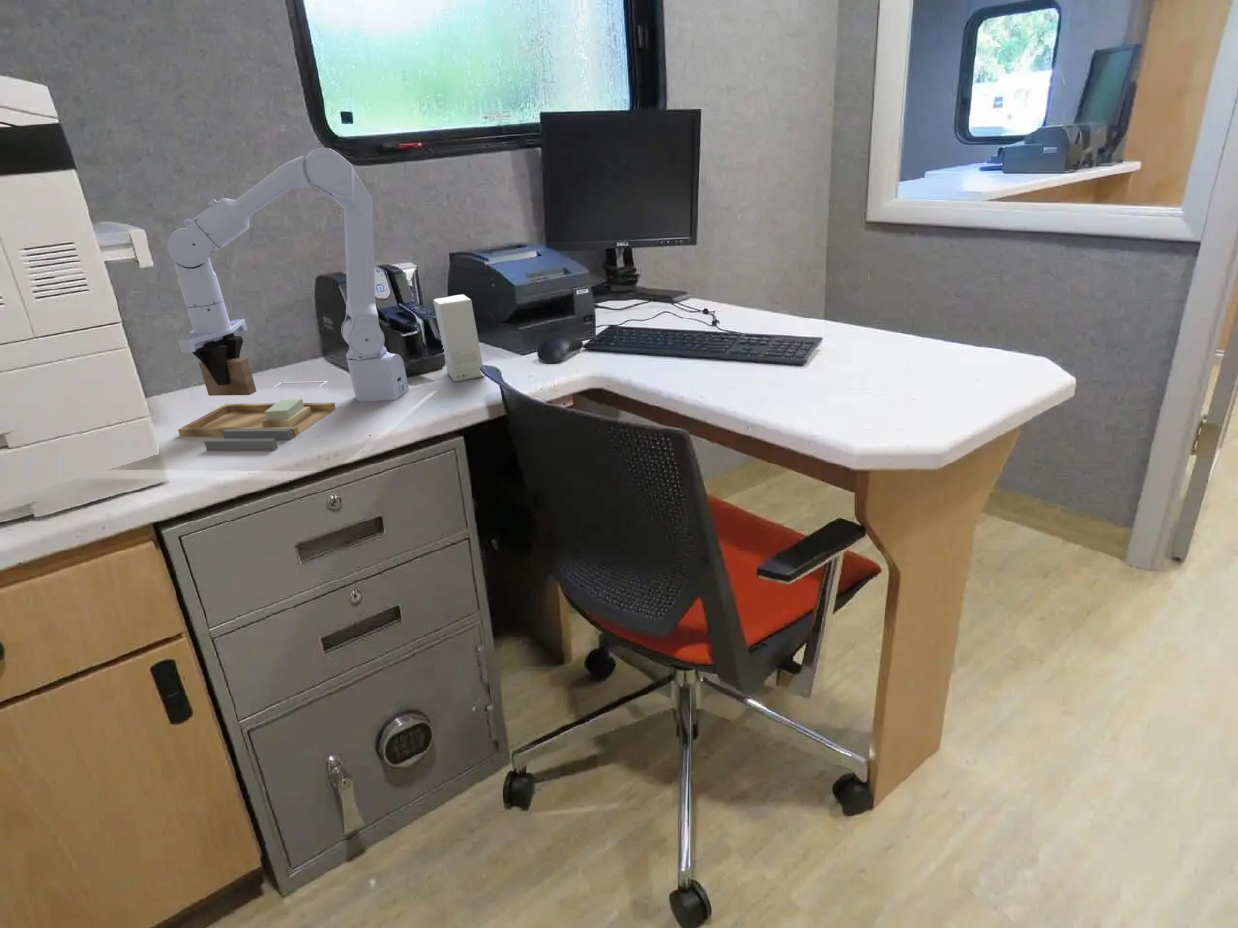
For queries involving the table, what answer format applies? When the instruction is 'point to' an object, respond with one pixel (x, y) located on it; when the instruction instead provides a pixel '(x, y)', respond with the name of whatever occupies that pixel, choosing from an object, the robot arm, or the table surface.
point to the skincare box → (459, 337)
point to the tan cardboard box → (231, 379)
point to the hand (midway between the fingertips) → (228, 381)
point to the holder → (249, 439)
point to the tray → (248, 419)
